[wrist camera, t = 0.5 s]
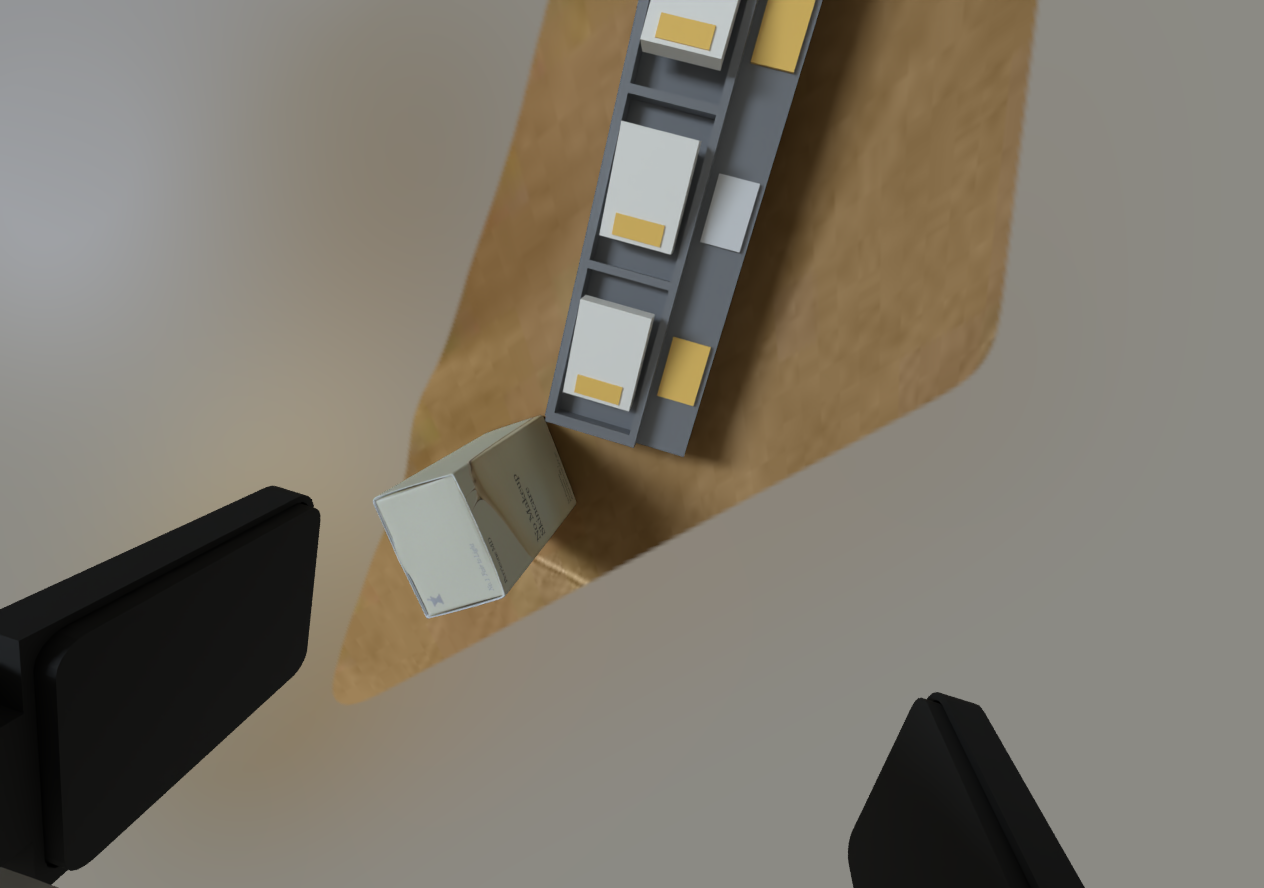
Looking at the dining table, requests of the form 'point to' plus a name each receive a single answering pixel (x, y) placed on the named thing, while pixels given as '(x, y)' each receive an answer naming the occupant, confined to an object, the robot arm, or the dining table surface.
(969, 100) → the dining table surface
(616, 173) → the block
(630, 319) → the block
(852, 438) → the dining table surface
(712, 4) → the plate
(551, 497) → the skincare box
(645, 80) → the switch unit
